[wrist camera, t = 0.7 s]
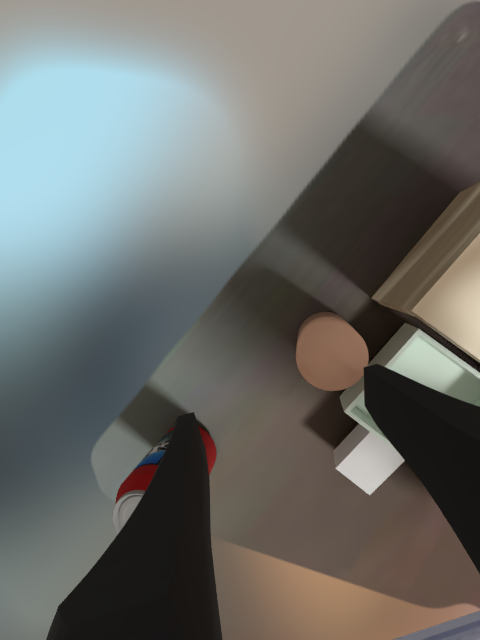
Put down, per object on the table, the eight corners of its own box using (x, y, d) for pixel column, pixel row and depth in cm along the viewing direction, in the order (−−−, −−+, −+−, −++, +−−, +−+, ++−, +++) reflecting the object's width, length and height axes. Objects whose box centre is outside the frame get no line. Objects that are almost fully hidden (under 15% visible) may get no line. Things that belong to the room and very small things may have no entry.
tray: (491, 385, 30) (518, 400, 26) (385, 489, 33) (395, 515, 30) (405, 322, 31) (418, 328, 27) (309, 430, 34) (310, 448, 31)
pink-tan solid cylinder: (364, 333, 32) (384, 351, 24) (329, 374, 33) (337, 404, 25) (319, 300, 32) (325, 308, 25) (286, 342, 34) (282, 362, 26)
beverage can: (172, 411, 37) (113, 472, 26) (225, 432, 36) (188, 505, 25) (159, 460, 39) (97, 539, 27) (209, 481, 38) (168, 572, 26)
